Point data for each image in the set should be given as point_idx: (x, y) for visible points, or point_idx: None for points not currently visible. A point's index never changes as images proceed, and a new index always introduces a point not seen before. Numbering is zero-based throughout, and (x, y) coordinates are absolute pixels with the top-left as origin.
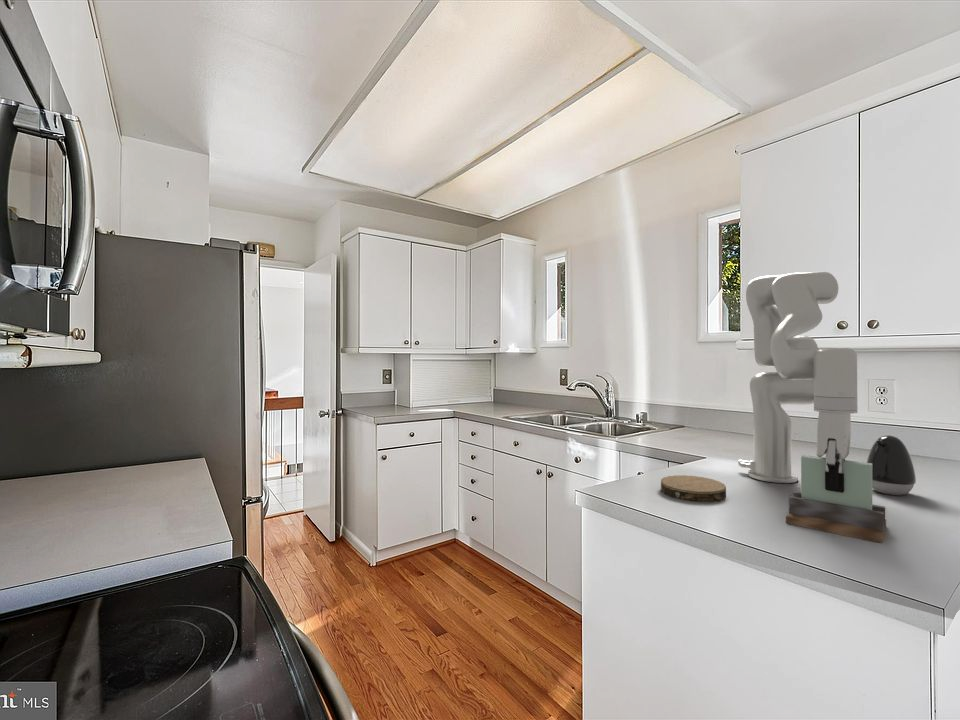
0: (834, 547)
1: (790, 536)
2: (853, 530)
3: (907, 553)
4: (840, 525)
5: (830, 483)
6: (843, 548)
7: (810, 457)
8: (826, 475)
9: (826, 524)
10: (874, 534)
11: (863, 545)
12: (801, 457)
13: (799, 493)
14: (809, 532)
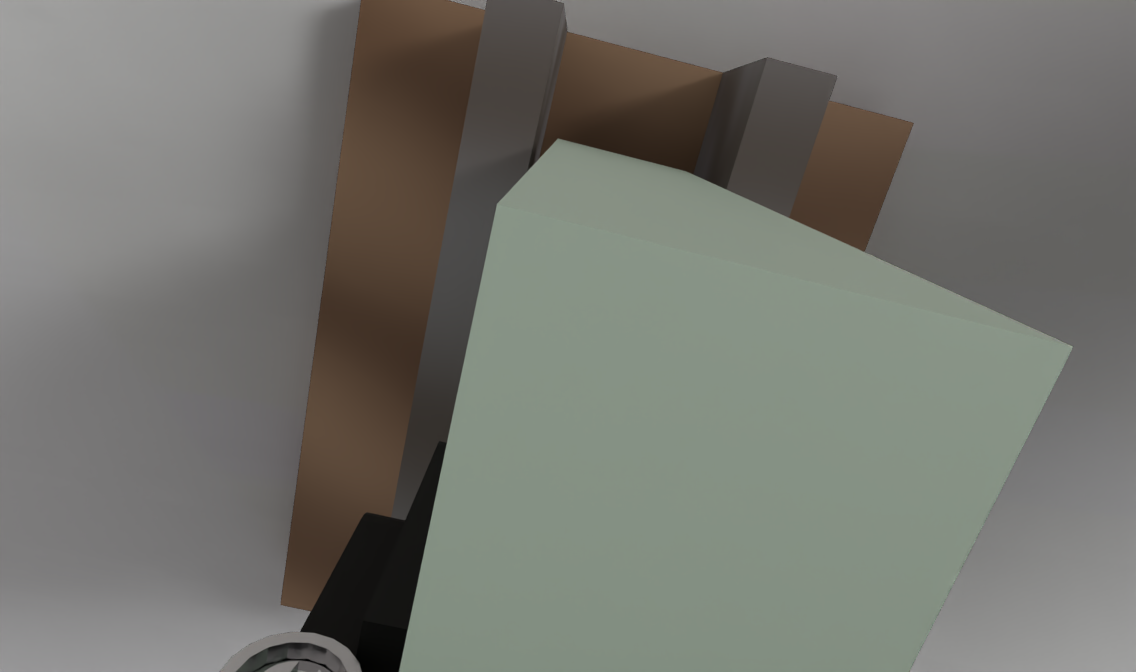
0: (7, 300)
1: (29, 11)
2: (301, 465)
3: (200, 647)
4: (357, 401)
5: (351, 550)
6: (30, 350)
7: (527, 577)
8: (379, 587)
9: (322, 307)
10: (285, 569)
11: (185, 469)
12: (509, 213)
13: (756, 135)
14: (241, 169)
